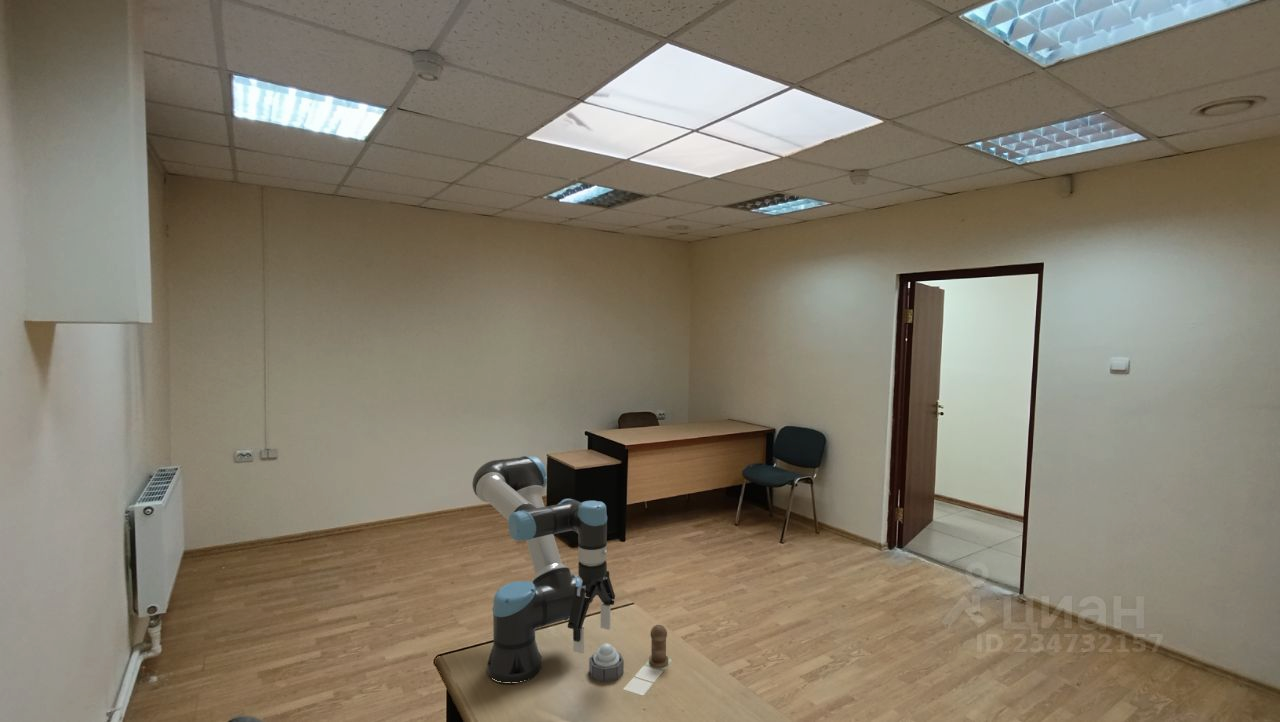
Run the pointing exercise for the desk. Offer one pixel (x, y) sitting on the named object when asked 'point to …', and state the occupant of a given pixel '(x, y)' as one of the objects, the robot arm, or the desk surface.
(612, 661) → the pop-up dome
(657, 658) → the walnut pawn
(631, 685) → the game board
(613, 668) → the dome base
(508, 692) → the desk surface
